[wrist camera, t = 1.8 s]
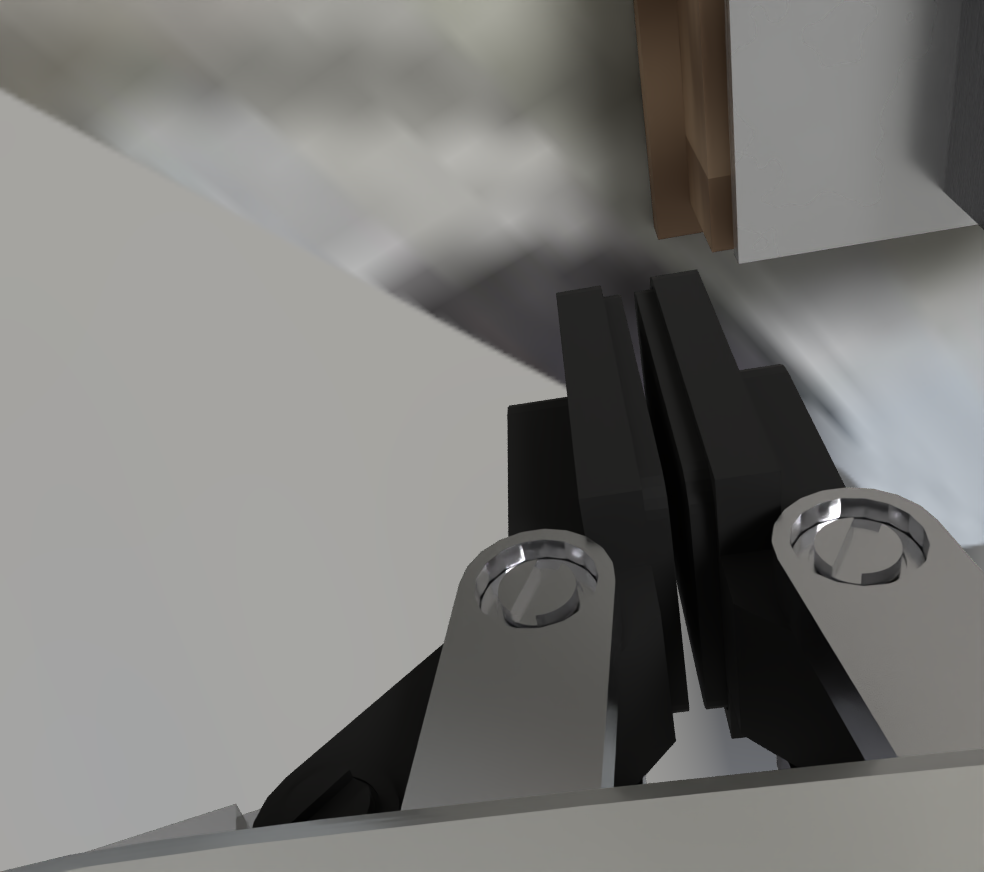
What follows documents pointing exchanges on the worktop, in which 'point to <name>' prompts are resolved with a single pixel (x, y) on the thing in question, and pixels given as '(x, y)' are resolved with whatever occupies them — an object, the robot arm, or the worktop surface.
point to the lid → (852, 121)
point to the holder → (686, 117)
